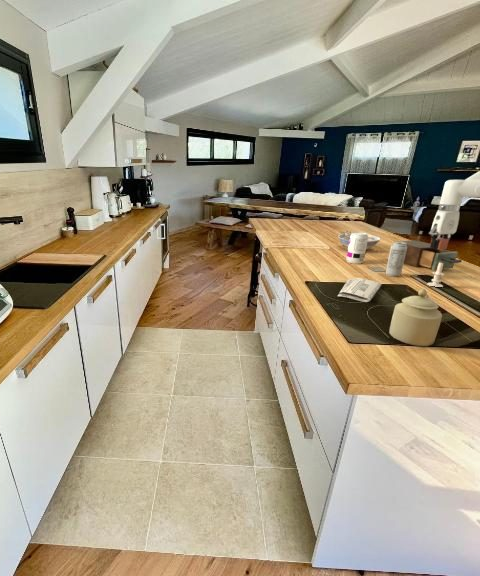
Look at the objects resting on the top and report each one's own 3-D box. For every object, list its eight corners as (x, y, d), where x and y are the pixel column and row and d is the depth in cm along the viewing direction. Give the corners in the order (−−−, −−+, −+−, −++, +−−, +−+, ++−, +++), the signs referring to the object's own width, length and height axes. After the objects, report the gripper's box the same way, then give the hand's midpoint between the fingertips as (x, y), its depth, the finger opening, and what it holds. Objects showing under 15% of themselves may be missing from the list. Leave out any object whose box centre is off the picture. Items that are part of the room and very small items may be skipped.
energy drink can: (402, 275, 142) (409, 242, 137) (398, 278, 138) (406, 244, 133) (387, 272, 146) (394, 240, 141) (383, 275, 142) (390, 242, 137)
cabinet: (436, 265, 156) (441, 246, 153) (415, 267, 153) (420, 248, 150) (410, 257, 169) (414, 240, 166) (391, 259, 166) (395, 241, 163)
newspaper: (349, 280, 137) (350, 275, 136) (380, 288, 130) (382, 283, 129) (333, 295, 120) (335, 289, 119) (367, 306, 113) (369, 299, 112)
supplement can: (343, 262, 163) (347, 233, 158) (349, 259, 168) (354, 231, 163) (359, 265, 158) (364, 235, 152) (365, 262, 163) (371, 233, 157)
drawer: (463, 271, 144) (468, 254, 141) (443, 273, 141) (448, 256, 138) (426, 260, 160) (430, 245, 157) (408, 262, 157) (412, 247, 155)
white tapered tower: (434, 283, 132) (440, 259, 128) (446, 287, 127) (453, 262, 123) (424, 284, 131) (430, 260, 127) (435, 288, 126) (442, 263, 122)
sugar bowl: (380, 320, 101) (390, 276, 95) (420, 324, 98) (432, 279, 92) (395, 343, 87) (408, 293, 82) (441, 349, 84) (457, 297, 79)
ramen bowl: (377, 256, 173) (379, 241, 170) (332, 251, 184) (334, 237, 182) (379, 247, 193) (381, 233, 190) (339, 243, 204) (341, 230, 201)
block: (437, 246, 151) (439, 237, 149) (446, 248, 147) (449, 239, 145) (429, 247, 150) (431, 237, 148) (438, 249, 145) (441, 239, 144)
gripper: (442, 210, 136) (431, 251, 143) (471, 208, 140) (459, 248, 147) (426, 208, 143) (416, 247, 149) (454, 206, 147) (444, 245, 153)
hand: (438, 247), depth 148 cm, fingers closed on block, 4 cm apart
